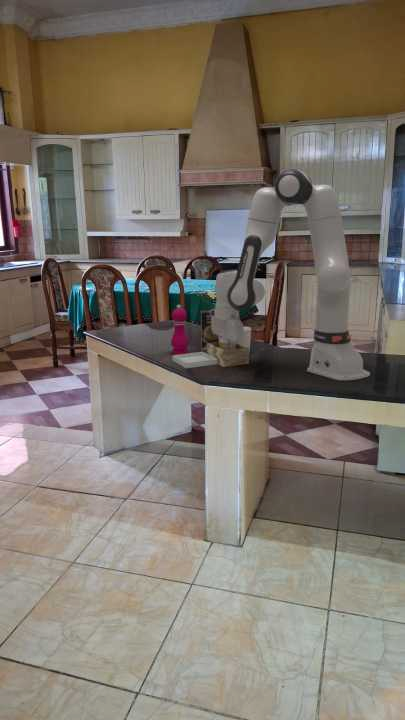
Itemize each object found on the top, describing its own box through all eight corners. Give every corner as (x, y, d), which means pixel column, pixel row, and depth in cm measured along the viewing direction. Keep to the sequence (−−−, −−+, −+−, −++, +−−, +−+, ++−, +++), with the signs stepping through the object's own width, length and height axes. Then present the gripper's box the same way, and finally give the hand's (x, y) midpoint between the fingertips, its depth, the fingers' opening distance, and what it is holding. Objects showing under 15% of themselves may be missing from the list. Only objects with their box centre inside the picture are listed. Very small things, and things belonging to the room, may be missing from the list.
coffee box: (201, 350, 223) (200, 312, 219) (201, 347, 229) (200, 309, 225) (223, 350, 223) (223, 312, 219) (222, 346, 229) (222, 309, 225)
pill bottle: (224, 358, 210) (224, 329, 208) (239, 360, 207) (239, 330, 204) (215, 361, 205) (215, 331, 202) (230, 364, 202) (230, 333, 199)
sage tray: (217, 364, 202) (217, 359, 201) (185, 368, 197) (185, 363, 196) (203, 356, 213) (203, 351, 213) (172, 360, 208) (172, 355, 207)
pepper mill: (188, 355, 216) (187, 306, 211) (170, 355, 216) (169, 306, 211) (189, 351, 223) (188, 303, 218) (171, 351, 223) (170, 303, 218)
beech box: (248, 363, 202) (249, 348, 200) (223, 367, 198) (223, 351, 196) (230, 355, 215) (230, 340, 213) (206, 358, 210) (206, 343, 209)
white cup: (249, 354, 215) (249, 330, 213) (230, 354, 217) (230, 329, 214) (251, 350, 222) (252, 326, 220) (233, 349, 224) (233, 326, 222)
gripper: (248, 316, 194) (247, 354, 197) (222, 309, 212) (222, 343, 215) (232, 318, 191) (232, 356, 195) (208, 310, 209) (208, 344, 213)
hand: (227, 349), depth 205 cm, fingers closed on pill bottle, 6 cm apart
